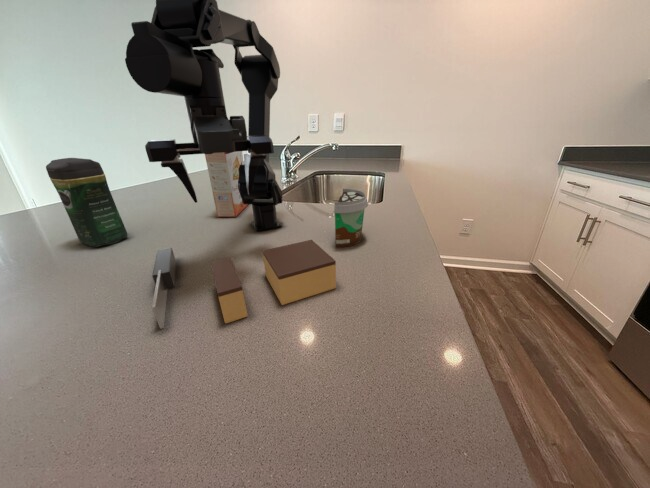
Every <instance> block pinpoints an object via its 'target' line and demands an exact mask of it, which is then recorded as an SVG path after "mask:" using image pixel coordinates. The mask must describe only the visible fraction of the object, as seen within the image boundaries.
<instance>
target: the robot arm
mask: <svg viewBox="0 0 650 488" xmlns="http://www.w3.org/2000/svg"><path fill="white" fill-rule="evenodd" d="M130 26H131V28H132V32H133V35H132V36H131V38H130V39H129V41H128V43H127V45H126V51H125V58H124V63H125V66H126V69H127V71H128V74H129V75H130V77H131V78H132V80H133V81H134V82H135V83H136V85H137V86H139V87H140V88H141V89H143V90H145V91H146V92H149V93H153V94H161V95H162V94H163V95H168V96H169V95H170V96H175V97H176V96H177V97H183V101H184V105H185V109H186V114H187V118H188V123H189V127H190V132H191V136H192V140H193V142H177V141H176V138H170V139H169V138H167V139H150V140H149V141H147V142H146V143H145V145H144V148H145V153H146V155H147V159H148V162H149V163H160V166H161V168H169V169H170V170H171V171H172V172H173V173H174V174H175V175H176V177H177V178H178V179H179V181H180V182H181V183H182V184H183V185H184V188H185V189H186V191H187V192H188V194H189V196H190V197H191V199H192V200H193V202H194V203H196V204H197V203H198V198H197V194H196V190H195V188H194V186H193V183H192V180H191V177H190V175H189V173H188V169H187V167H186V165H185V162H184V160H183V158H181V156H189V155H191V156H192V155H205V154H213V153H222V152H226V153H232V152H237V151H242V152H246V153H244V154H243V161H244V165H240V166H239V180H238V190H239V193H240V195H241V198H242V201H243V203H244V204H248V205H251V206H252V207H251V208H252V214H253V215H252V216H253V221H251V225H252V227H253V229H254V230H255V231H256V232H262V231H266V230H272V229H277V228H281V227H282V225H283V224H281V222H280V221H279V220H278V216H277V207H276V206H277V205H278V204H279V205H280V204H283V190H282V189H281V187H280V185H279V184H278V182H277V179H276V173H275V171H274V169H273V168H272V166H271V164H270V155H271V154H274V153H275V151H274V142H273V139H272V138H271V136H270V131H271V130H270V129H271V128H270V127H271V126H270V125H271V122H270V121H271V100H272V98H274V95H275V94H276V93H277V92H278V89H279V88H278V86H279V79H280V77H281V68H280V63H279V61H278V58H277V55H276V52H275V50H274V47H273V45H271V44H270V43H269V41H268V40H267V39H266V38H265V37H263V35H262V34H261V33H260V31H259V28H258V25H257V23H256V22H255V21H254V20H251V19H246V18H244V17H240V16H237V15H234V14H232V13H229V12H226V11H224V10H222V9H219V6H218V1H217V0H155V6H154V9H153V14H152V17H151V20H150V21H148V20H142V21H141V20H140V21H133V22H131V24H130ZM219 43H220V44H225V45H230V46H231V45H232V48H233V49H234V60H233V61H234V65H235V67H236V69H237V71H238V73H239V75H240V76H241V77H240V78H241V82H242V85H243V87H244V88H245V90H246V91H247V93H248V117H247V118H248V121H247V122H248V124H247V125H246V120H245V117H244V116H243V115H229V117H228V114H227V108H226V102H225V98H224V97H225V96H224V91H223V84H222V78H221V74H220V69H224V67H225V65H224V63H223V60H222V59H221V58H220V57H218V56H217V54H216V53H215V51H214V49H213V48H206V47H211V45H216V44H219ZM246 47H254V48H255V50H256V51H257V53H259V54H249V55H244V56H243V55H242V53H241V52H240V48H246ZM196 48H197V49H196ZM198 48H200V49H198ZM201 48H202V49H201ZM247 126H248V127H247Z"/></svg>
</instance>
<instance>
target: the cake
mask: <svg viewBox="0 0 650 488" xmlns="http://www.w3.org/2000/svg"><path fill="white" fill-rule="evenodd" d="M261 252H262V259H263V266H264V273H265V277H266V279H267V281H268V282H269V284H270V286H271V288H272V290H273V291H274V294H275V295H276V297H277V299H278V301H279V303H280V305H281V306H284V305H288V304H290V303H294V302H297V301H300V300H303V299H306V298H309V297H313V296H316V295H319V294H322V293H325V292H328V291H331V290H334V289H336V288H337V267H336V266H337V265H336V263H337V261H336V259H334V258H333V257H332V256H330V254H328V253H327V252H326V251H325V250H324V249H323V248H322V247H320V245H318V244H317V242H315V241H314V240H313V239H307V240H303V241H300V242H299V241H298V242H295V243H290V244H286V245H281V246H277V247H276V246H275V247H272V248H267V249H264V250H262V251H261Z"/></svg>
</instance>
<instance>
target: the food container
mask: <svg viewBox="0 0 650 488" xmlns="http://www.w3.org/2000/svg"><path fill="white" fill-rule="evenodd" d="M368 206H369V201H368V197H367V196H366V193H365V192H364V191H362V190H358V189H353V188H342V193H341V195H340V196H339V198H338V201H335V202H334V208H333V209H334V211H333V214H334V228H335V229H334V230H335V247H336V248H344V247H345V248H346V247H351V246H355V245H357V244H358V243H360V242H361V240H362V233H363V227H364V226H363V225H364V218H365V217H364V216H365V209H366V208H368Z"/></svg>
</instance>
